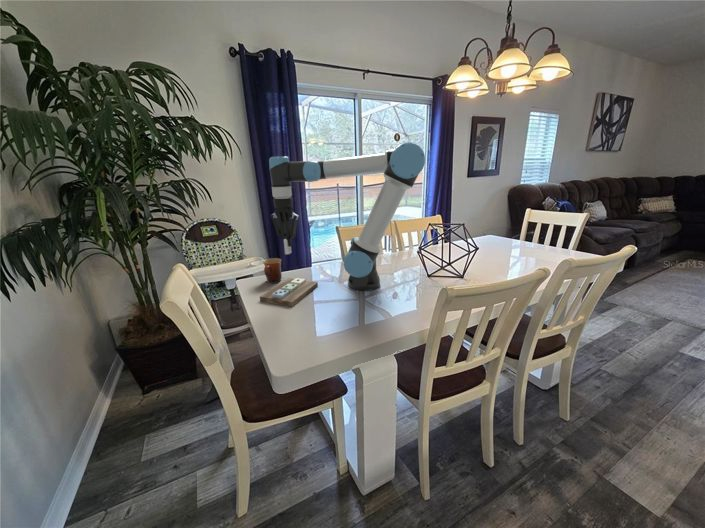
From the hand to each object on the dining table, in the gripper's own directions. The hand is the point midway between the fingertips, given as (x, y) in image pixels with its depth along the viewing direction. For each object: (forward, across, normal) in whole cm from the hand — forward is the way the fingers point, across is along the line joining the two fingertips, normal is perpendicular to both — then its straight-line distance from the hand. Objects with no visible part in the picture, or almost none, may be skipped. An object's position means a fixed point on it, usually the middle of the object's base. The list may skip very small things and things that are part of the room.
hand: (288, 253), depth 123 cm
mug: (+19, +16, -8) cm, 26 cm away
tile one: (+18, 0, -6) cm, 19 cm away
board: (+18, +1, +1) cm, 18 cm away
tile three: (+18, +1, +8) cm, 20 cm away
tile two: (+18, +1, +1) cm, 18 cm away
